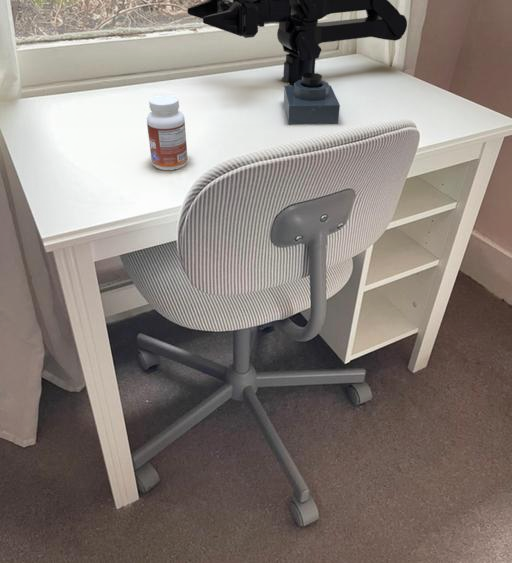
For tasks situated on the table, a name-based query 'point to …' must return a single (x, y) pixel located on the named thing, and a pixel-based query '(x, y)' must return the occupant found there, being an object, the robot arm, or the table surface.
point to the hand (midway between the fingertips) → (195, 15)
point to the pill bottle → (166, 133)
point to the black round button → (312, 80)
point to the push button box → (311, 104)
